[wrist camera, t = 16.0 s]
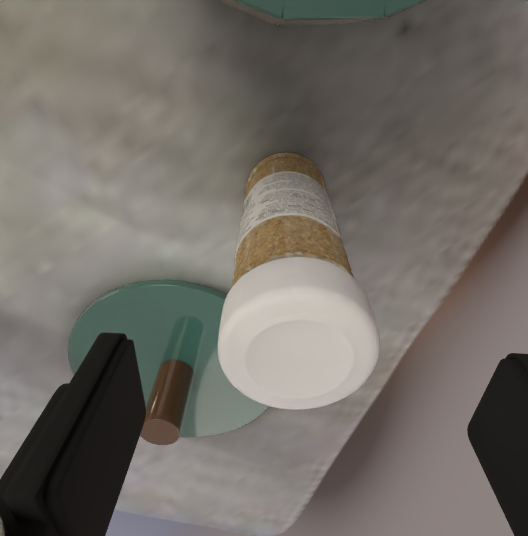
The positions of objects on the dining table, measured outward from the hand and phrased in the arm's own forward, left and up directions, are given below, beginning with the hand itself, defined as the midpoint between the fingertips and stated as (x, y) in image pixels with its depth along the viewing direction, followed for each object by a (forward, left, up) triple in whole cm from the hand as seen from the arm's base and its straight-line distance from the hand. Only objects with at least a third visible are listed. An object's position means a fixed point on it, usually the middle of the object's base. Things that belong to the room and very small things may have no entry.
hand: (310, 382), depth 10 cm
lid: (+10, -12, -13) cm, 21 cm away
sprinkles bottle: (0, 0, -14) cm, 14 cm away
